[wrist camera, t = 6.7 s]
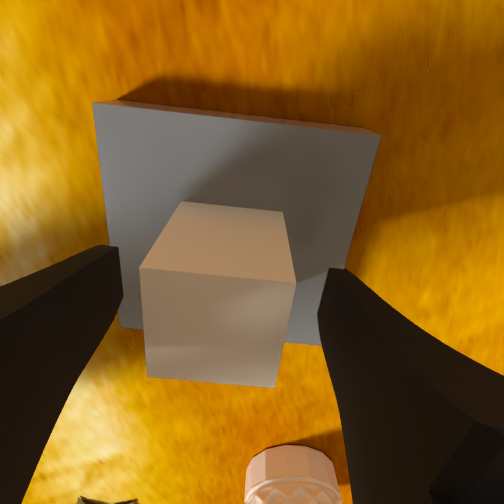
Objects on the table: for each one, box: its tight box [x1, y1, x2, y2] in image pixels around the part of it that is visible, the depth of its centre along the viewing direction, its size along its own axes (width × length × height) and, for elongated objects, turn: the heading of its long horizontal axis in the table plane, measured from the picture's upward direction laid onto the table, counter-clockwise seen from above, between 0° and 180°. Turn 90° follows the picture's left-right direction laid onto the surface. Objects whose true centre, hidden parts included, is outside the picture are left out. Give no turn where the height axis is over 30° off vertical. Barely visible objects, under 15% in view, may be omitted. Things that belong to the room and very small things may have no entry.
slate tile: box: [92, 100, 381, 346], centre depth 14 cm, size 10×10×2 cm
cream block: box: [139, 201, 296, 388], centre depth 11 cm, size 4×4×5 cm
